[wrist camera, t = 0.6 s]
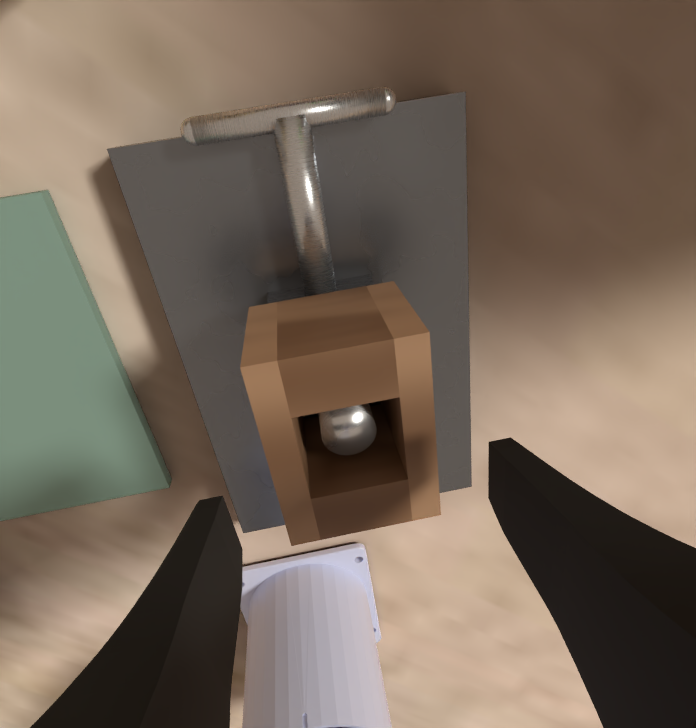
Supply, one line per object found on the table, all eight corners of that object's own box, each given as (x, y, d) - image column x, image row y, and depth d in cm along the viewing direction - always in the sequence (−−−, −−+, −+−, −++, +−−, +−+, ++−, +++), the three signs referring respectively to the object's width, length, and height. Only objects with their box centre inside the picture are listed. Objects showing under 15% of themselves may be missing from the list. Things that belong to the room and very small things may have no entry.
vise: (460, 466, 26) (518, 575, 20) (245, 510, 25) (235, 636, 19) (449, 77, 17) (547, 56, 11) (116, 130, 16) (19, 139, 10)
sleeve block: (408, 436, 20) (440, 514, 16) (288, 460, 20) (291, 545, 16) (393, 280, 17) (429, 332, 13) (248, 306, 16) (239, 367, 12)
